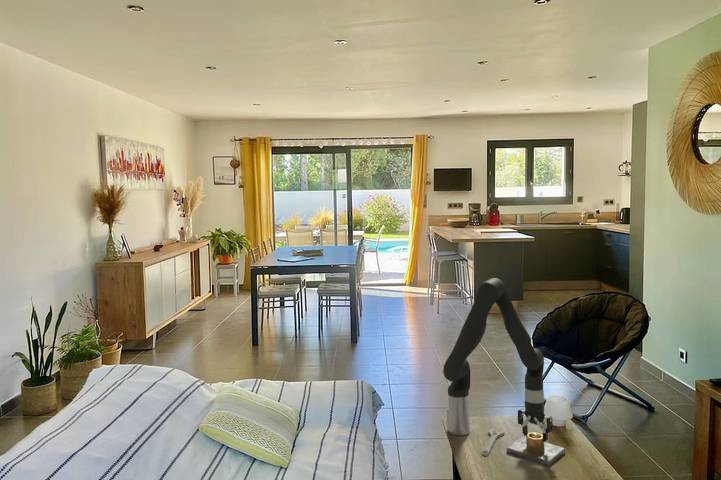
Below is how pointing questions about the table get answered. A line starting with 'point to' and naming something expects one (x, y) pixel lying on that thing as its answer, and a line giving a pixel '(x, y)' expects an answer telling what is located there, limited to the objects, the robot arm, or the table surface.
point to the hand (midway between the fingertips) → (535, 438)
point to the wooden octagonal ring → (534, 442)
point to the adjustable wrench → (492, 440)
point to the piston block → (543, 457)
